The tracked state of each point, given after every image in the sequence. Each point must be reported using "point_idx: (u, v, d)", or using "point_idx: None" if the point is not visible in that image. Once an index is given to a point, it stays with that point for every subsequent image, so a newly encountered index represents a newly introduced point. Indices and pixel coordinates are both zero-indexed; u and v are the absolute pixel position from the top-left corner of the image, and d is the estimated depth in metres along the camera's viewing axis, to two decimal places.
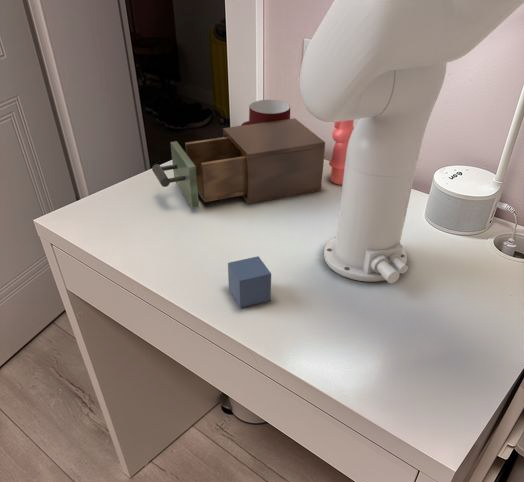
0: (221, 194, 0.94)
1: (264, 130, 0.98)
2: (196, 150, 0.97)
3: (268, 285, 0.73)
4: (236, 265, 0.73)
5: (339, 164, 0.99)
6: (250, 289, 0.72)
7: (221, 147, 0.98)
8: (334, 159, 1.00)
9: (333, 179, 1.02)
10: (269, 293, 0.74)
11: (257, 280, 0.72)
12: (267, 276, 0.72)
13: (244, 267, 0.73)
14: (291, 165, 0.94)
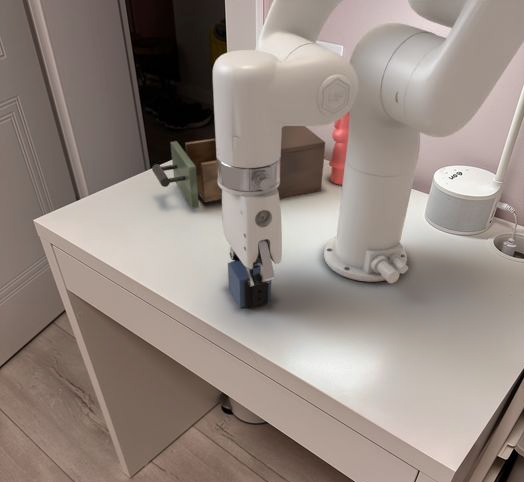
0: (221, 194, 0.94)
1: None
2: (196, 150, 0.97)
3: (268, 285, 0.73)
4: (236, 265, 0.73)
5: (339, 164, 0.99)
6: None
7: None
8: (334, 159, 1.00)
9: (333, 179, 1.02)
10: (269, 293, 0.74)
11: None
12: None
13: (244, 267, 0.73)
14: (291, 165, 0.94)
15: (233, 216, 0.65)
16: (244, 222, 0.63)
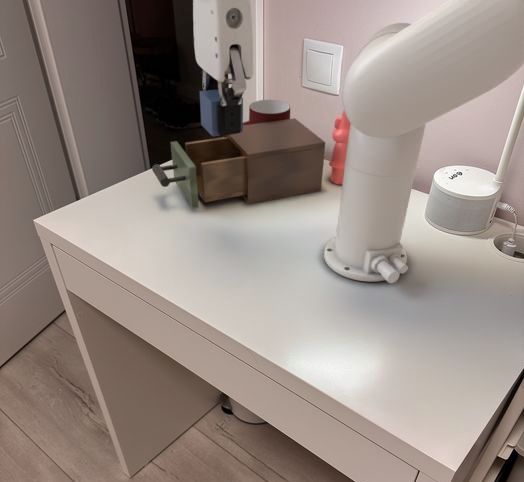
0: (221, 194, 0.94)
1: (264, 130, 0.98)
2: (196, 150, 0.97)
3: None
4: (208, 92, 0.73)
5: (339, 164, 0.99)
6: None
7: (221, 147, 0.98)
8: (334, 159, 1.00)
9: (333, 179, 1.02)
10: (241, 122, 0.75)
11: None
12: None
13: (215, 94, 0.73)
14: (291, 165, 0.94)
15: (204, 23, 0.66)
16: (215, 22, 0.63)
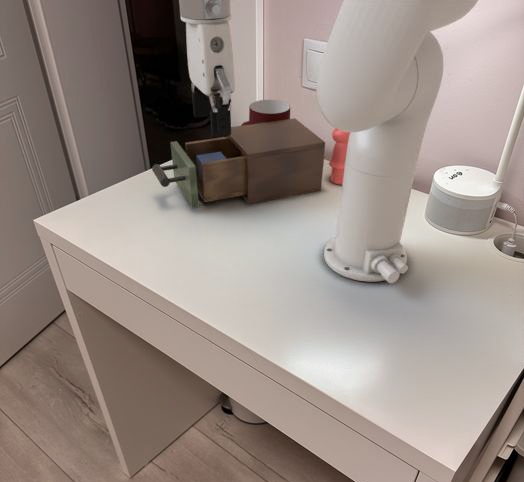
0: (221, 194, 0.94)
1: (264, 130, 0.98)
2: (196, 150, 0.97)
3: None
4: (202, 156, 0.95)
5: (339, 164, 0.99)
6: None
7: (221, 147, 0.98)
8: (334, 159, 1.00)
9: (333, 179, 1.02)
10: None
11: None
12: None
13: (208, 158, 0.94)
14: (291, 165, 0.94)
15: (194, 48, 0.81)
16: (201, 48, 0.79)
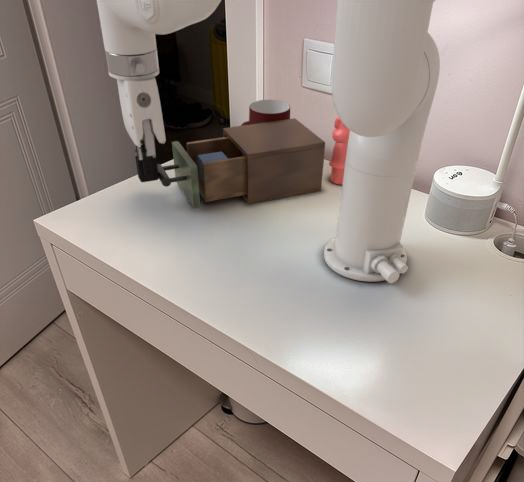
0: (222, 194, 0.94)
1: (264, 130, 0.98)
2: (197, 150, 0.97)
3: None
4: (204, 156, 0.95)
5: (339, 164, 0.99)
6: None
7: (223, 146, 0.98)
8: (334, 159, 1.00)
9: (333, 179, 1.02)
10: None
11: None
12: None
13: (209, 157, 0.94)
14: (291, 165, 0.94)
15: (123, 101, 0.82)
16: (128, 103, 0.80)
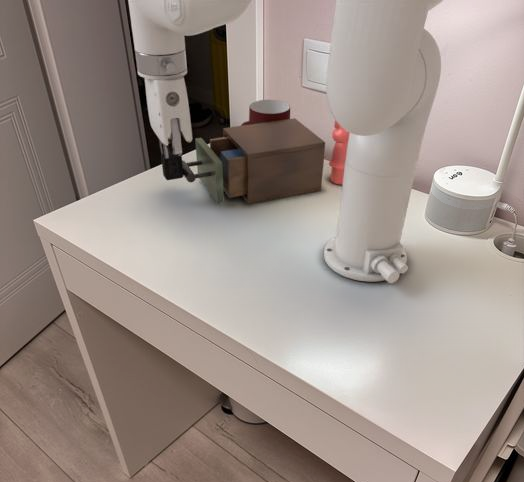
0: (245, 190, 0.95)
1: (264, 130, 0.98)
2: (220, 147, 0.98)
3: None
4: (227, 153, 0.96)
5: (339, 164, 0.99)
6: None
7: None
8: (334, 159, 1.00)
9: (333, 179, 1.02)
10: None
11: None
12: None
13: (233, 154, 0.96)
14: (291, 165, 0.94)
15: (151, 101, 0.83)
16: (157, 102, 0.81)
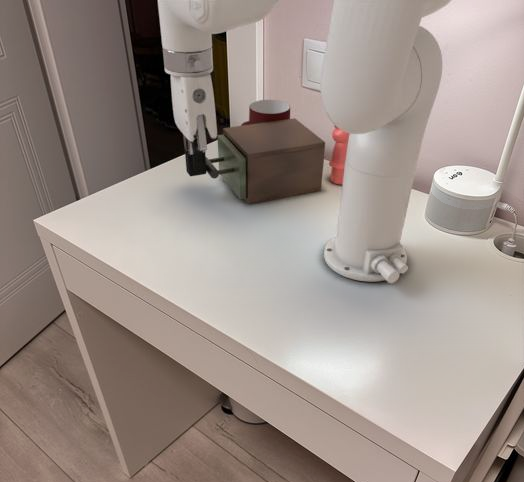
0: None
1: (264, 130, 0.98)
2: None
3: None
4: None
5: (339, 164, 0.99)
6: None
7: None
8: (334, 159, 1.00)
9: (333, 179, 1.02)
10: None
11: None
12: None
13: None
14: (291, 165, 0.94)
15: (177, 97, 0.84)
16: (184, 98, 0.82)
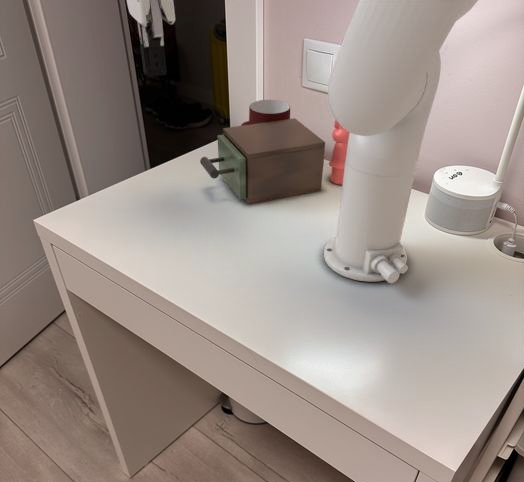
0: None
1: (264, 130, 0.98)
2: None
3: None
4: None
5: (339, 164, 0.99)
6: None
7: None
8: (334, 159, 1.00)
9: (333, 179, 1.02)
10: None
11: None
12: None
13: None
14: (291, 165, 0.94)
15: None
16: None
